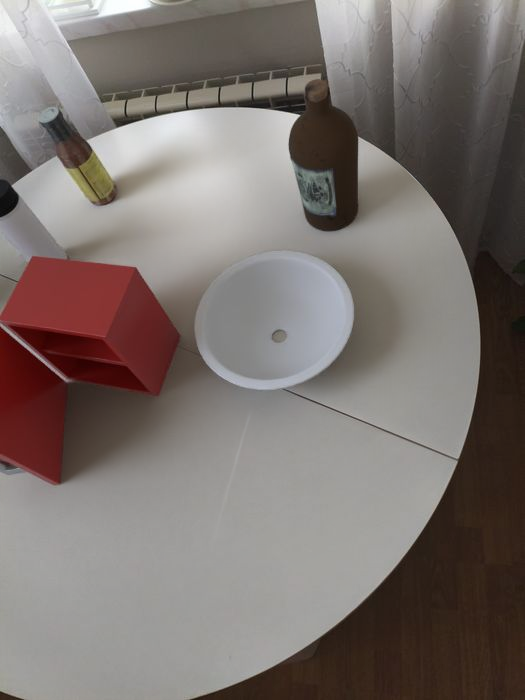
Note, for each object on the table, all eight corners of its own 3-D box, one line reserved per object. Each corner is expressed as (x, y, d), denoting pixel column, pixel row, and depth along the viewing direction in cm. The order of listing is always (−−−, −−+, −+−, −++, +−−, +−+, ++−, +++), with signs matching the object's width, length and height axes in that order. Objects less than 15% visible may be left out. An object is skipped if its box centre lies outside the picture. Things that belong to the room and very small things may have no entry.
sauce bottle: (117, 180, 112) (69, 95, 95) (118, 202, 109) (68, 119, 92) (87, 189, 113) (33, 106, 96) (87, 211, 110) (32, 129, 93)
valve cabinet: (158, 396, 87) (105, 336, 70) (66, 379, 91) (-3, 320, 75) (181, 336, 91) (136, 266, 75) (92, 323, 96) (32, 255, 80)
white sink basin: (252, 257, 96) (244, 232, 90) (382, 302, 87) (381, 277, 81) (178, 370, 88) (164, 351, 82) (311, 433, 79) (306, 416, 73)
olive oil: (319, 182, 101) (301, 55, 80) (372, 197, 97) (368, 68, 76) (290, 224, 98) (263, 103, 76) (344, 242, 94) (332, 120, 72)
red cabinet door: (20, 491, 83) (-68, 452, 67) (31, 390, 92) (-45, 334, 76) (60, 484, 83) (-20, 443, 66) (67, 382, 91) (-2, 324, 75)
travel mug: (42, 286, 102) (-27, 211, 85) (35, 261, 106) (-32, 185, 89) (73, 271, 103) (10, 194, 86) (65, 247, 106) (3, 169, 89)
